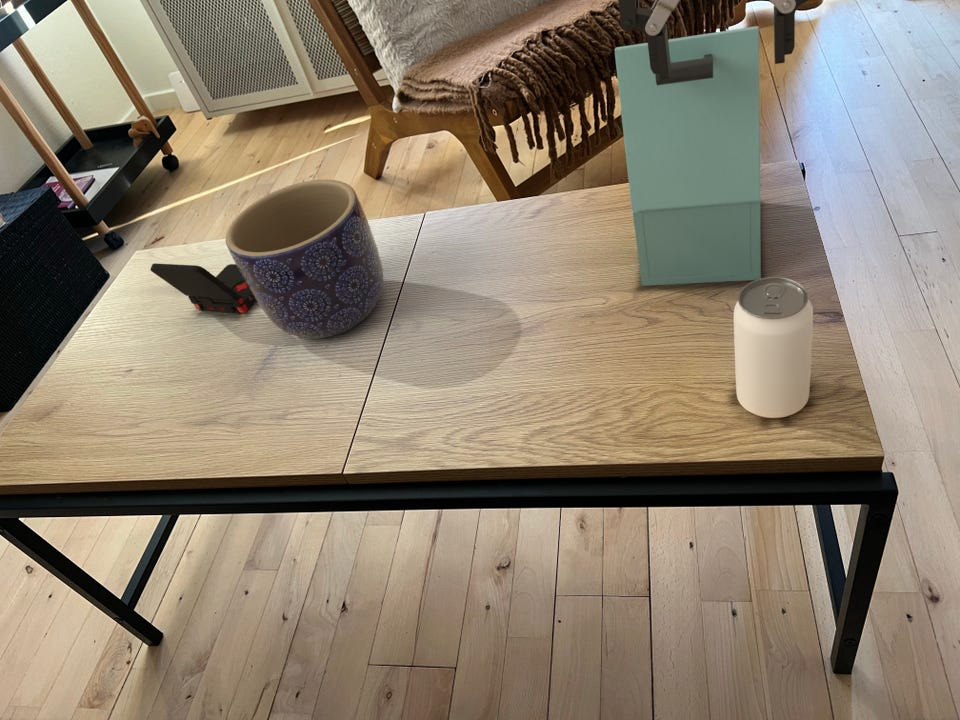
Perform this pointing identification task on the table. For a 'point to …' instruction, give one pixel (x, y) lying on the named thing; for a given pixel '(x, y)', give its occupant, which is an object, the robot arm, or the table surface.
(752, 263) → the teal open box
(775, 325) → the can
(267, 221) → the planter
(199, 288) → the black phone stand
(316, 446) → the table surface
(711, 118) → the lid
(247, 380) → the table surface
